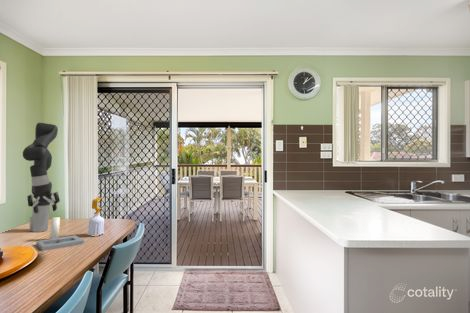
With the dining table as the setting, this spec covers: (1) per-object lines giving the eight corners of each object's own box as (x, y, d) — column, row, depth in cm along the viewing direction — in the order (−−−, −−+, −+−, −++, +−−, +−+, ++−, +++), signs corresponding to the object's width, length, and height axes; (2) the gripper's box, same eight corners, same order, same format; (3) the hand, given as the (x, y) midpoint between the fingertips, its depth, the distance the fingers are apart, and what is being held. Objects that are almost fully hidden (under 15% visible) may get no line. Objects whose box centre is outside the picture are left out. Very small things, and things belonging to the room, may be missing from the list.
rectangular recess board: (42, 250, 136) (42, 247, 137) (36, 244, 146) (36, 241, 146) (83, 243, 151) (84, 240, 151) (75, 238, 161) (76, 235, 161)
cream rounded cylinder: (48, 240, 155) (49, 218, 155) (52, 238, 159) (54, 217, 160) (55, 240, 155) (57, 218, 156) (60, 238, 160) (61, 217, 160)
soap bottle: (106, 234, 174) (108, 197, 175) (95, 237, 165) (98, 199, 166) (95, 232, 176) (98, 196, 177) (84, 235, 168) (87, 198, 169)
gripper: (58, 180, 146) (63, 207, 148) (29, 183, 142) (34, 211, 145) (52, 183, 138) (57, 212, 141) (21, 186, 135) (27, 216, 138)
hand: (45, 211), depth 143 cm, fingers open, 8 cm apart
